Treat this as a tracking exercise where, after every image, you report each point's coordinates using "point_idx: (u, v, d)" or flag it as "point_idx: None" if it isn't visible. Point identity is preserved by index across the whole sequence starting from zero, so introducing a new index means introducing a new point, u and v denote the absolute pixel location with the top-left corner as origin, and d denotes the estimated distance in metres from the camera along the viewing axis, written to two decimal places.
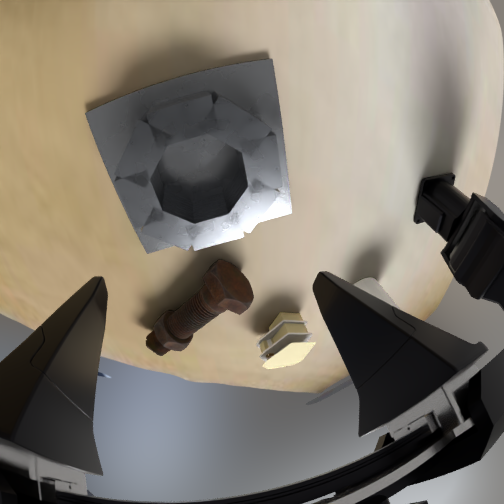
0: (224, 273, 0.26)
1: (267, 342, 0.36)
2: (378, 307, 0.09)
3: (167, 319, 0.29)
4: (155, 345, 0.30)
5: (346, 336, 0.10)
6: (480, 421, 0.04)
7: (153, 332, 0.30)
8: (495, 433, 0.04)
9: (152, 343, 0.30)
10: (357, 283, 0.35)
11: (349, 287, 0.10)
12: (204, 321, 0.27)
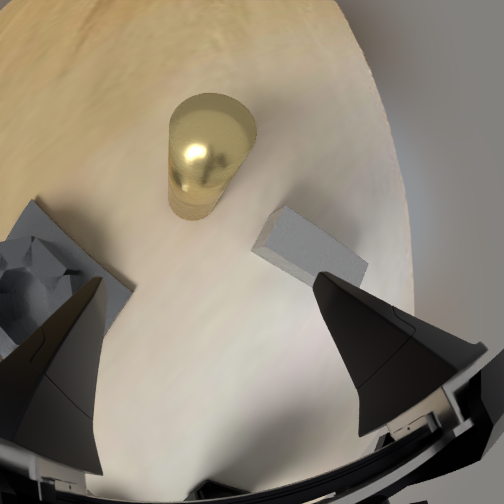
0: None
1: None
2: (378, 307, 0.09)
3: None
4: None
5: (346, 336, 0.10)
6: (480, 421, 0.04)
7: None
8: (495, 433, 0.04)
9: None
10: None
11: (350, 287, 0.10)
12: None
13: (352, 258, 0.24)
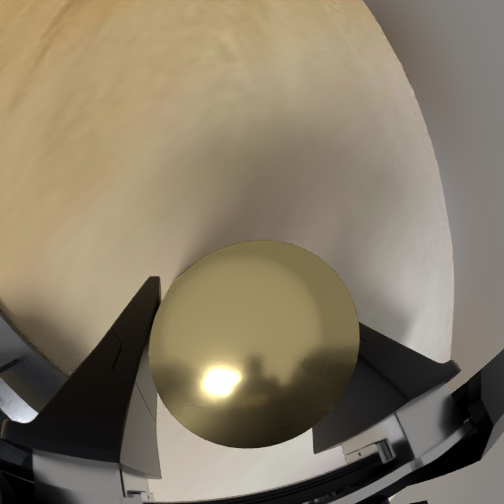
0: None
1: None
2: None
3: None
4: None
5: None
6: (480, 421, 0.04)
7: None
8: (495, 433, 0.04)
9: None
10: None
11: None
12: None
13: None
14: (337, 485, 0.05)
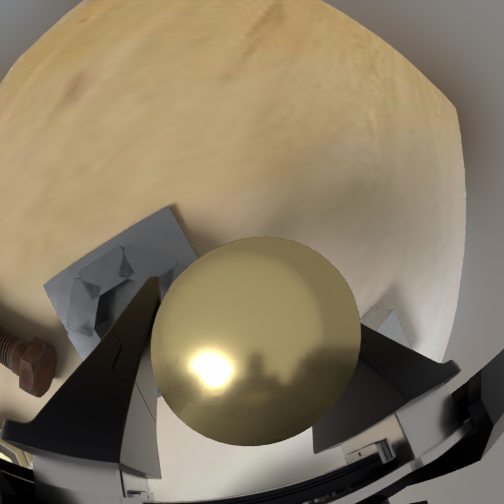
0: (47, 358, 0.17)
1: None
2: None
3: None
4: None
5: None
6: (480, 421, 0.04)
7: None
8: (495, 433, 0.04)
9: None
10: None
11: None
12: None
13: None
14: (337, 485, 0.05)
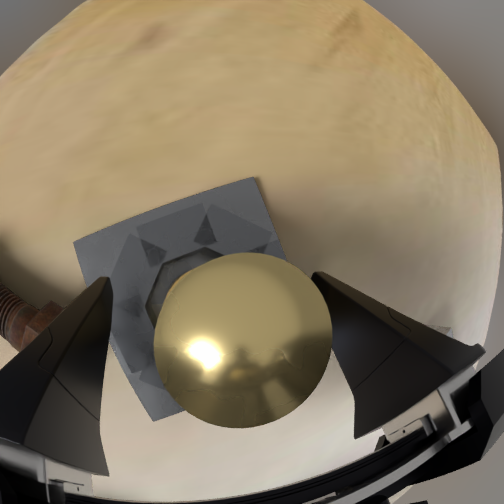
0: None
1: None
2: (373, 308, 0.09)
3: None
4: None
5: (341, 337, 0.10)
6: (480, 421, 0.04)
7: None
8: (495, 433, 0.04)
9: None
10: None
11: (344, 287, 0.10)
12: None
13: None
14: None
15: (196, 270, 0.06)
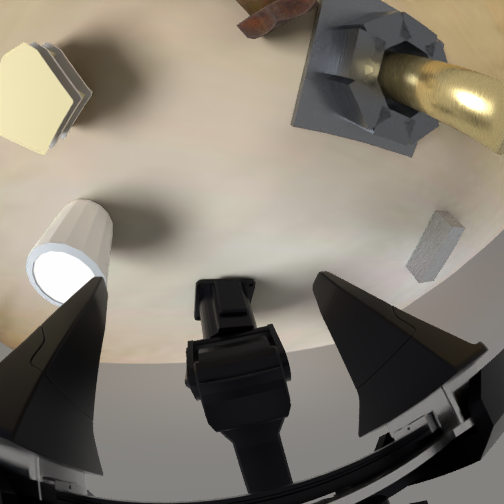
0: None
1: None
2: (378, 307, 0.09)
3: None
4: None
5: (346, 336, 0.10)
6: (480, 421, 0.04)
7: None
8: (495, 433, 0.04)
9: None
10: (108, 216, 0.21)
11: (350, 287, 0.10)
12: None
13: (437, 271, 0.34)
14: None
15: None
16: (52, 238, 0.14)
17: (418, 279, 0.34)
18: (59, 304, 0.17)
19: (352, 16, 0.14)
